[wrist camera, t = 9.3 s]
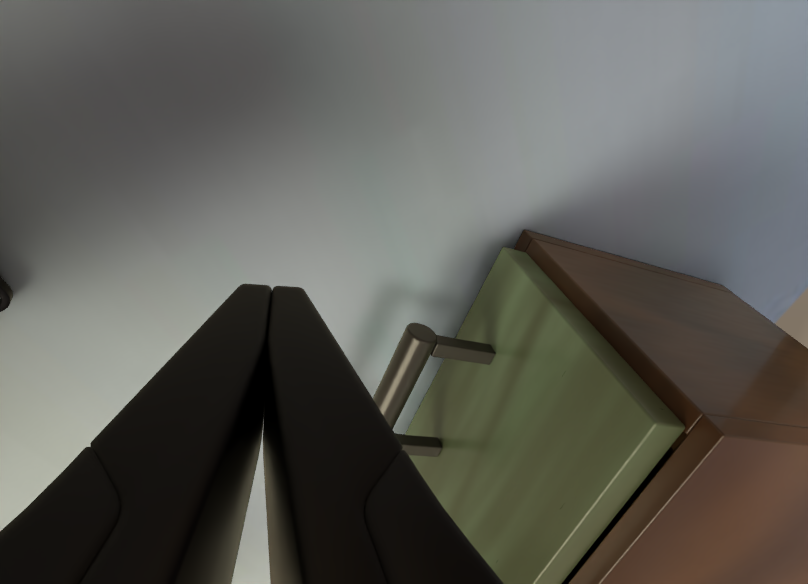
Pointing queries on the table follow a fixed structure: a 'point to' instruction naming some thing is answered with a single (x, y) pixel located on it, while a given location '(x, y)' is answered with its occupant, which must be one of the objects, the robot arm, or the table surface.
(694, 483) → the bedside cabinet
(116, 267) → the table surface
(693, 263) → the table surface
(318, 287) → the table surface
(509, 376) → the cabinet drawer
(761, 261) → the table surface
